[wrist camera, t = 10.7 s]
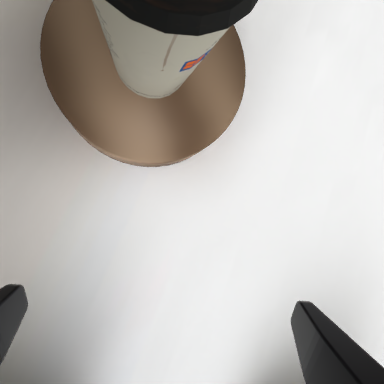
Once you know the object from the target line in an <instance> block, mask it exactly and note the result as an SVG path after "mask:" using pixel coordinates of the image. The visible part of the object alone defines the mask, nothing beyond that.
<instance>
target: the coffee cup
mask: <svg viewBox="0 0 384 384" xmlns="http://www.w3.org/2000/svg"><path fill="white" fill-rule="evenodd" d="M257 1H258V0H92V2H93V4H94V7H95V10H96V13H97V16H98V19H99V22H100V24H101V27H102V30H103V33H104V36H105V39H106V42H107V44H108V47H109V50H110V53H111V56H112V59H113V62H114V65H115V67H116V70H117V72H118V75H119V77H120V79H121V80H122V81H123V83H124V84H125V85H126V86H127V88H129V89H130V90H132V91H133V92H134V93H136V94H137V95H140V96H143V97H146V98H163V97H166V96H169V95H171V94H172V93H174V92H175V91H176V90H178V89H179V87H180V86H181V85H182V84H183V83H184V81H185V80H186V79H187V78H188V77H189V75H190V74H191V73H192V72H193V71H194V69H195V68H196V67H197V66H198V65H199V63H200V62H201V61H202V60H203V59H204V57H205V56H206V55H207V54H208V53H209V51H210V50H211V49H212V48H213V47H214V46H215V44H216V43H217V42H218V41H219V40H220V38H221V37H222V36H223V35H224V34H225V32H226V31H227V30H228V29H229V28H230V27H231V26H232V25H234V24H235V23H236V22H238V21H239V20H240V19H242V18H243V17H245V16H246V15H247V14H249V13H250V12H251V11H252V9H253V7H254V6H255V4H256V3H257Z"/></svg>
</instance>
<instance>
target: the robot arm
mask: <svg viewBox="0 0 384 384" xmlns="http://www.w3.org/2000/svg"><path fill="white" fill-rule="evenodd" d="M27 307H28V301H27V297H26V293H25V290H24V287H23V286H22V285H17V284H8V285H6V286H4V287H3V288H1V289H0V365H1V363H2V361H3V359H4V357H5V355H6V353H7V351H8V349H9V347H10V345H11V343H12V341H13V338H14V336H15V334H16V332H17V330H18V328H19V326H20V324H21V321H22V319H23V317H24V315H25V313H26V311H27ZM291 326H292V330H293V334H294V339H295V343H296V347H297V351H298V356H299V360H300V364H301V368H302V372H303V376H304V379H305V382H306V384H384V368H383V367H382V366H381V365H380V364H379V363H378V362H377V361H376V360H375V359H373V358H372V357H371V356H370V355H369V354H368V353H367V352H366V351H365V350H363V349H362V348H361V347H360V346H359V345H358V344H357V343H356V342H355V341H354V340H352V339H351V338H350V337H349V336H348V335H347V334H346V333H345V332H344V331H342V330H341V329H340V328H339V327H338V326H337V325H336V324H335V323H334V322H333V321H331V320H330V319H329V318H328V317H327V316H326V315H325V314H324V313H323V312H321V311H320V310H319V309H318V308H317V307H316V306H315V305H314V304H313V303H311V302H309V301H298V302H297V303H296V305H295V308H294V311H293V314H292V317H291Z"/></svg>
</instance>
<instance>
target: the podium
mask: <svg viewBox="0 0 384 384" xmlns="http://www.w3.org/2000/svg"><path fill="white" fill-rule="evenodd" d="M40 49H41V62H42V68H43V73H44V76H45V79H46V82H47V86H48V88H49V90H50V92H51V94H52V96H53V99H54V100H55V102H56V104H57V105H58V107H59V108H60V110H61V111H62V113H63V114H64V115H65V117H66V118H67V119H68V121H69V122H70V123H71V124H72V126H73V127H74V128H75V129H76V130H77V132H78V133H79V134H80V135H81V136H82V137H83V138H84V139H85V140H86V141H87V142H88V143H89V144H90V145H92V146H93V147H94V148H96V149H97V150H99V151H100V152H101V153H103V154H105V155H107V156H109V157H111V158H113V159H115V160H118V161H120V162H123V163H127V164H131V165H135V166H143V167H159V166H167V165H171V164H175V163H178V162H181V161H183V160H186V159H188V158H190V157H191V156H193V155H195V154H196V153H198V152H200V151H201V150H203V149H204V148H206V147H207V146H209V145H210V144H211V143H213V142H214V141H215V140H216V139H217V138H219V136H220V135H221V134H222V133H223V132H224V131H225V130H226V129H227V127H228V126H229V125H230V123H231V122H232V120H233V119H234V117H235V115H236V113H237V111H238V109H239V106H240V103H241V100H242V96H243V92H244V87H245V60H244V54H243V49H242V46H241V42H240V39H239V36H238V34H237V31H236V29H235V27H234V25H232V26H231V27H230V28H229V29H228V30H227V31H226V32H225V34H224V35H223V36H222V37H221V38H220V40H219V41H218V42H217V43H216V44H215V46H214V47H213V48H212V49H211V50H210V51H209V53H208V54H207V55H206V56H205V57H204V59H203V60H202V61H201V62H200V63H199V65H198V66H197V67H196V68H195V69H194V71H193V72H192V73H191V74H190V75H189V77H188V78H187V79H186V80H185V81H184V83H183V84H182V85H181V86H180V87H179V89H178V90H176V91H175V92H174V93H172V94H171V95H169V96H166V97H163V98H146V97H143V96H140V95H137V94H136V93H134V92H133V91H132V90H130V89H129V88H127V86H126V85H125V84H124V83H123V81H122V80H121V79H120V77H119V75H118V72H117V70H116V67H115V65H114V62H113V59H112V56H111V53H110V50H109V47H108V44H107V42H106V39H105V36H104V33H103V30H102V27H101V24H100V22H99V19H98V16H97V13H96V10H95V7H94V4H93V2H92V0H54V1H53V2H52V4H51V6H50V8H49V10H48V12H47V14H46V17H45V21H44V24H43V28H42V34H41V42H40Z"/></svg>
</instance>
